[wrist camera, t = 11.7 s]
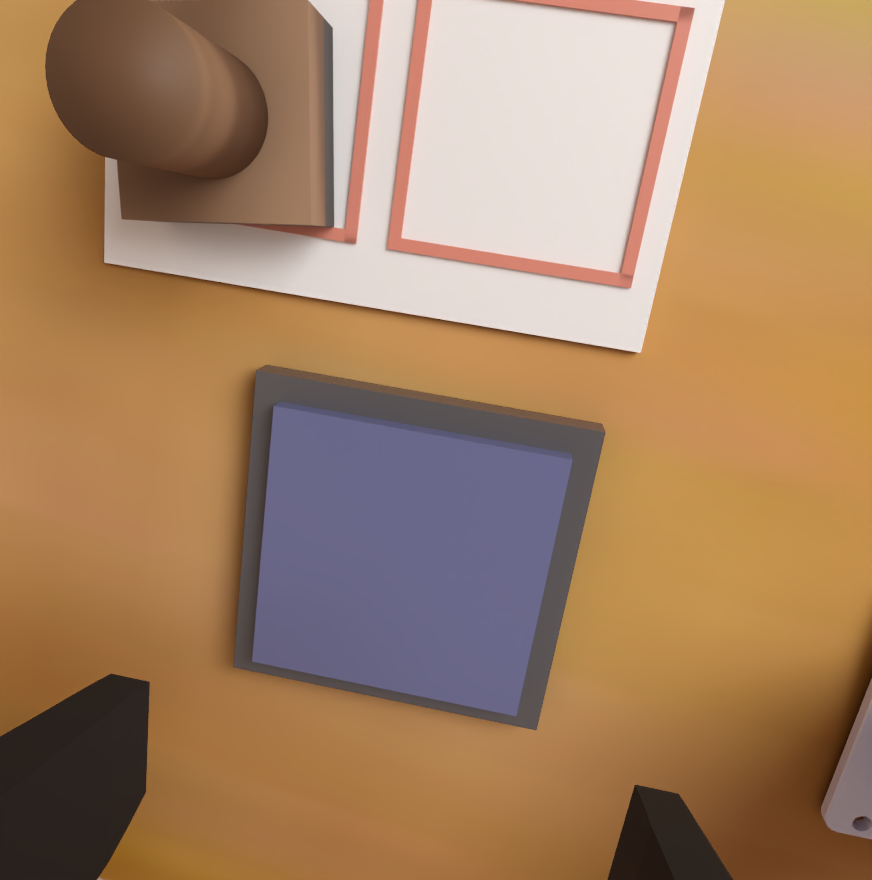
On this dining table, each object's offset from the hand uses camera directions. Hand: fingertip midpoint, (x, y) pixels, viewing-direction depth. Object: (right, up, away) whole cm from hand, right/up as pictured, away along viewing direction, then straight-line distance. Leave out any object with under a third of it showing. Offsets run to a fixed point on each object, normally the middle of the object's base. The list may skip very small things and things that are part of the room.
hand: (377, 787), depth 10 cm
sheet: (0, +13, +7) cm, 14 cm away
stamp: (-4, +13, +7) cm, 15 cm away
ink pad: (0, +2, +10) cm, 10 cm away
